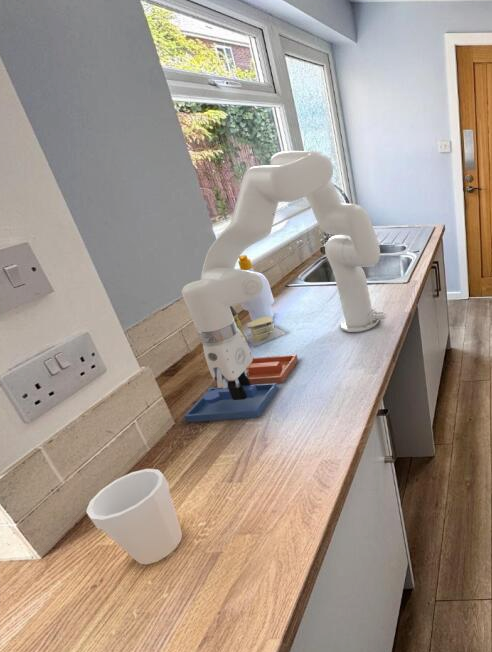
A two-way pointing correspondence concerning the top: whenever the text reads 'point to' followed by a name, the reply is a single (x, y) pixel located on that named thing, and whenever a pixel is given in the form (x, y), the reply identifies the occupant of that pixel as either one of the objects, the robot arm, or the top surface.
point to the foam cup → (138, 515)
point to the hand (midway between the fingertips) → (243, 394)
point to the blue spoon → (228, 394)
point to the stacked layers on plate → (262, 331)
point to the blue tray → (232, 406)
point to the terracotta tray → (287, 366)
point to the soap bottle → (263, 300)
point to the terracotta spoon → (264, 368)
